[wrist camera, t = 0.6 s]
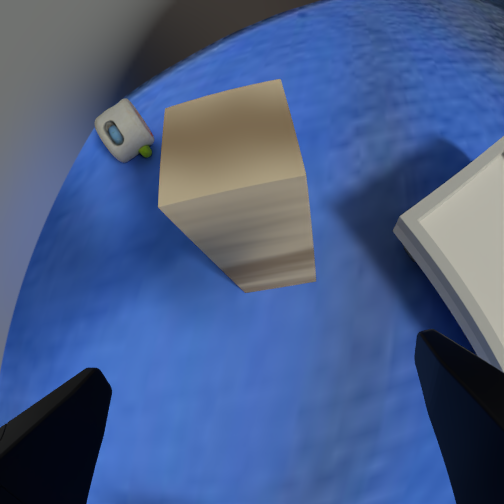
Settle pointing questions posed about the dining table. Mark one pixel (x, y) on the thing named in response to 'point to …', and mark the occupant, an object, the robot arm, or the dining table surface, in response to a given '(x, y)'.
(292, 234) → the maple post
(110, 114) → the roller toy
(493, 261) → the white square tray
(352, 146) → the dining table surface
